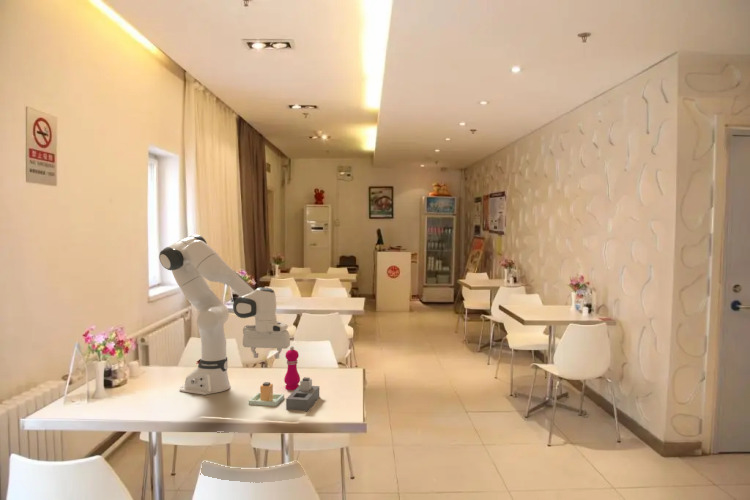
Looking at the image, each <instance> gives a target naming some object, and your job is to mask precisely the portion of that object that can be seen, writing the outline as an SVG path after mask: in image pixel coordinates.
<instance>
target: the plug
mask: <svg viewBox="0 0 750 500" xmlns="http://www.w3.org/2000/svg"><path fill="white" fill-rule="evenodd" d="M259 388H260V389H259V390H260V391H259V393H260V401H272V400H273V394H274V391H273V390H274V389H273V388H274V384H273V383H271V382H267V381H264V382H263V383H262V384H261V385H260V387H259Z"/></svg>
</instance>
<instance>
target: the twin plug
mask: <svg viewBox="0 0 750 500" xmlns="http://www.w3.org/2000/svg"><path fill="white" fill-rule="evenodd" d="M299 385H300V391H311V390H312V386H313V379H312V378H311V377H308V376H307V377H306V376H304V377H303V378H302V379H300V382H299Z"/></svg>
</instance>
